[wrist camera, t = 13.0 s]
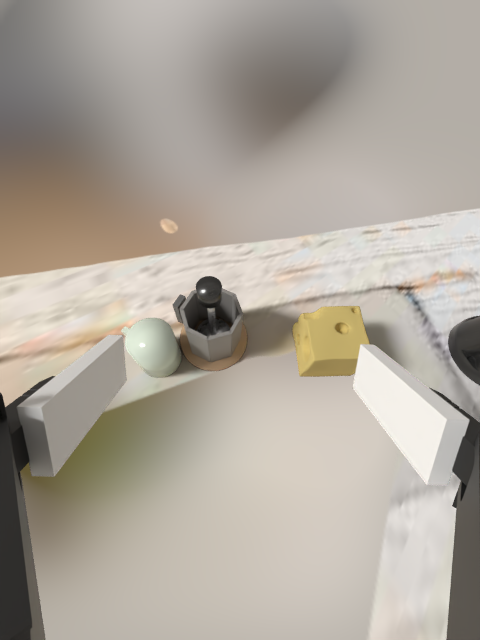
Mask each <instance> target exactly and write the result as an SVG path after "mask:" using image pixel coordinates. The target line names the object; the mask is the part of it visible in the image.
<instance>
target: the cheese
mask: <svg viewBox="0 0 480 640" xmlns="http://www.w3.org/2000/svg"><path fill="white" fill-rule="evenodd" d="M292 332H293V337H294V341H295V346H296V353H297V361H298V368H299V375H300V376H350V375H352V374H354V373H355V372H356V367H357V361H358V356H359V350H360V345H361V344H370V342H369V339H368V337H367V334H366V330H365V327H364V324H363V320H362V315H361V310H360V307H359V306H335V307H321V308H320V309H318V310H317V311H316V312H313V313H303V314H301V315H300V316H299V318H298V322H296V323H295V324H294V325H293V329H292Z"/></svg>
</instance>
